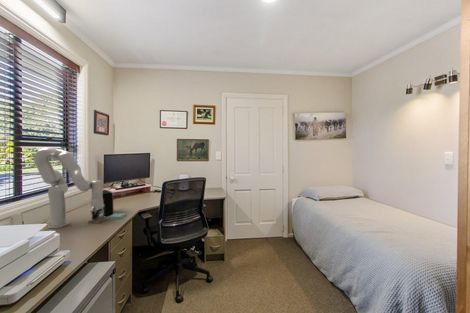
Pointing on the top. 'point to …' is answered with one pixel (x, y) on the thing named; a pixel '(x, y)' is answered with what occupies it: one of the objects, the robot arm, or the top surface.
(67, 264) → the top surface
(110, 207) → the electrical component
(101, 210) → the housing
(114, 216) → the stand
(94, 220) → the stand
